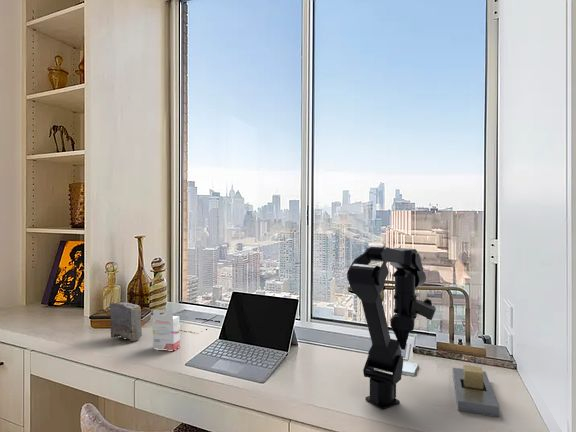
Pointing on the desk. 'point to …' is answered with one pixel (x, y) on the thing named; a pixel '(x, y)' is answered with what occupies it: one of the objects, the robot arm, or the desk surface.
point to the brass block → (472, 377)
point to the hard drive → (408, 368)
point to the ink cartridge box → (166, 330)
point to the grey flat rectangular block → (475, 396)
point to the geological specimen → (125, 320)
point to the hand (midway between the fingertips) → (404, 344)
